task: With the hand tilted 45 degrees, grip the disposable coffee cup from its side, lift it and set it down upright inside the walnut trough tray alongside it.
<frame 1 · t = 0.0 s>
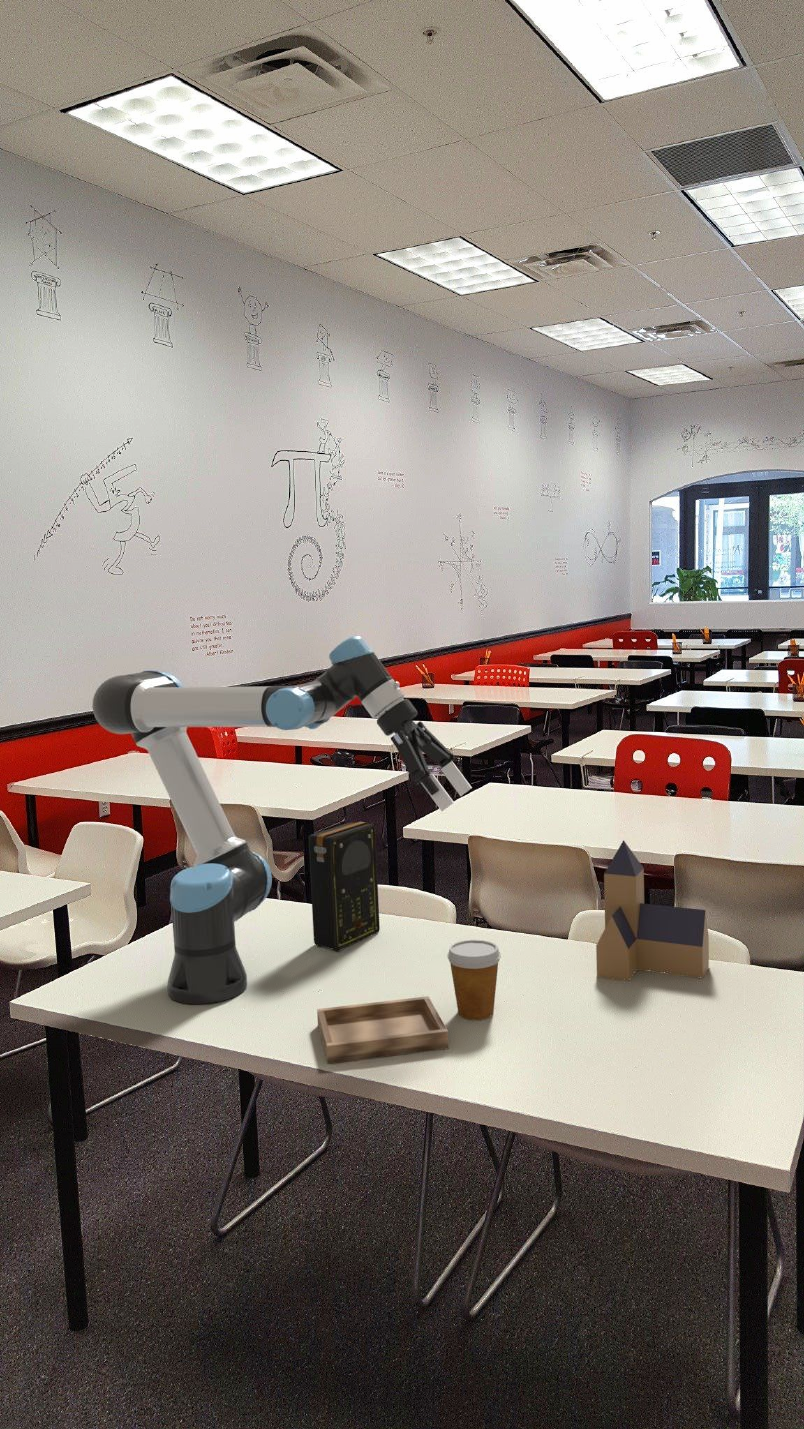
hand: (457, 799, 188), 36 cm above the table, tool tilted 35°, fingers open, 13 cm apart
voltmeter: (347, 940, 220), on the table
model church: (653, 972, 195), on the table
trough tray: (381, 1036, 171), on the table
disposable coffee cup: (475, 1013, 179), on the table
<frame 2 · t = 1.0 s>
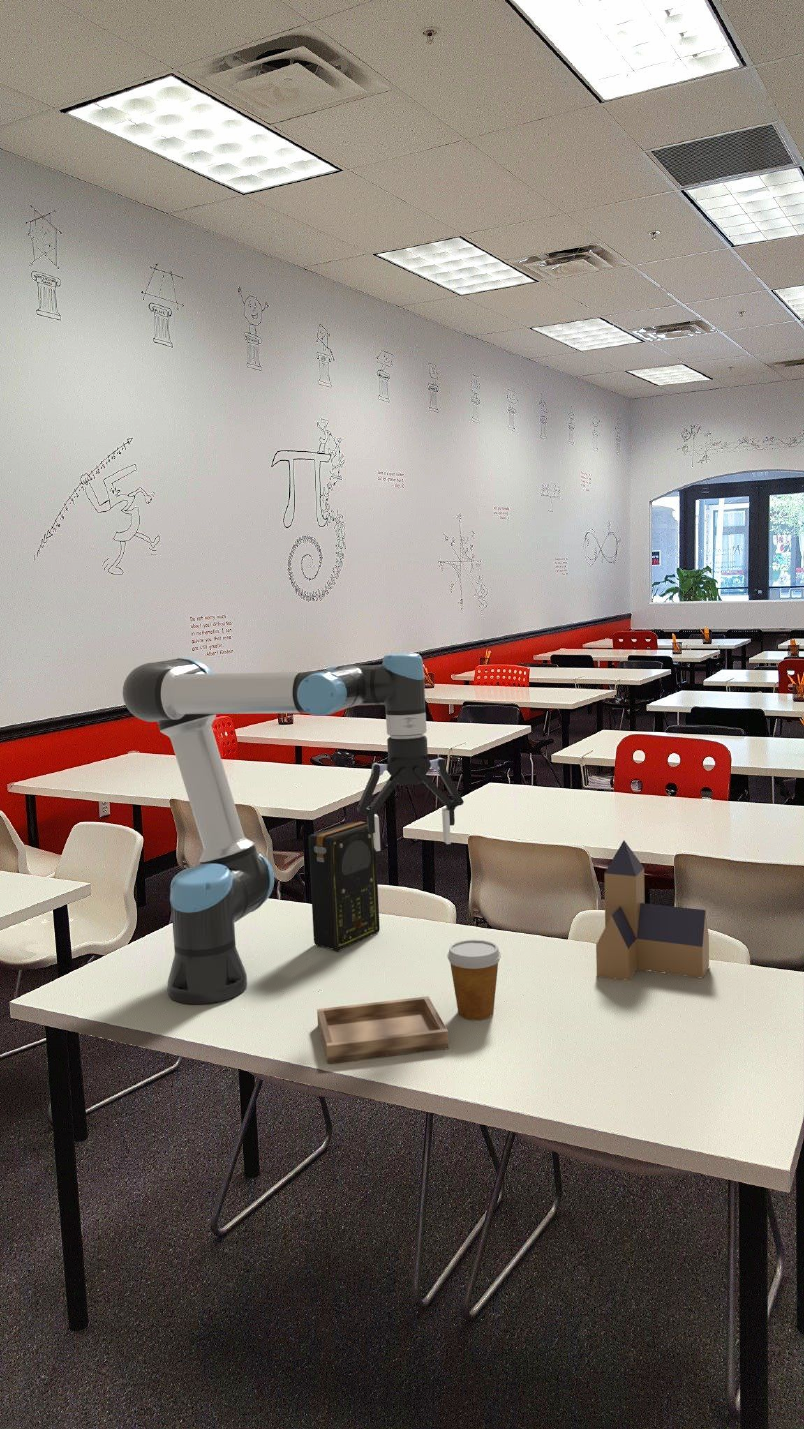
hand: (412, 846, 191), 27 cm above the table, tool pointing down, fingers open, 13 cm apart
nothing on the table moved.
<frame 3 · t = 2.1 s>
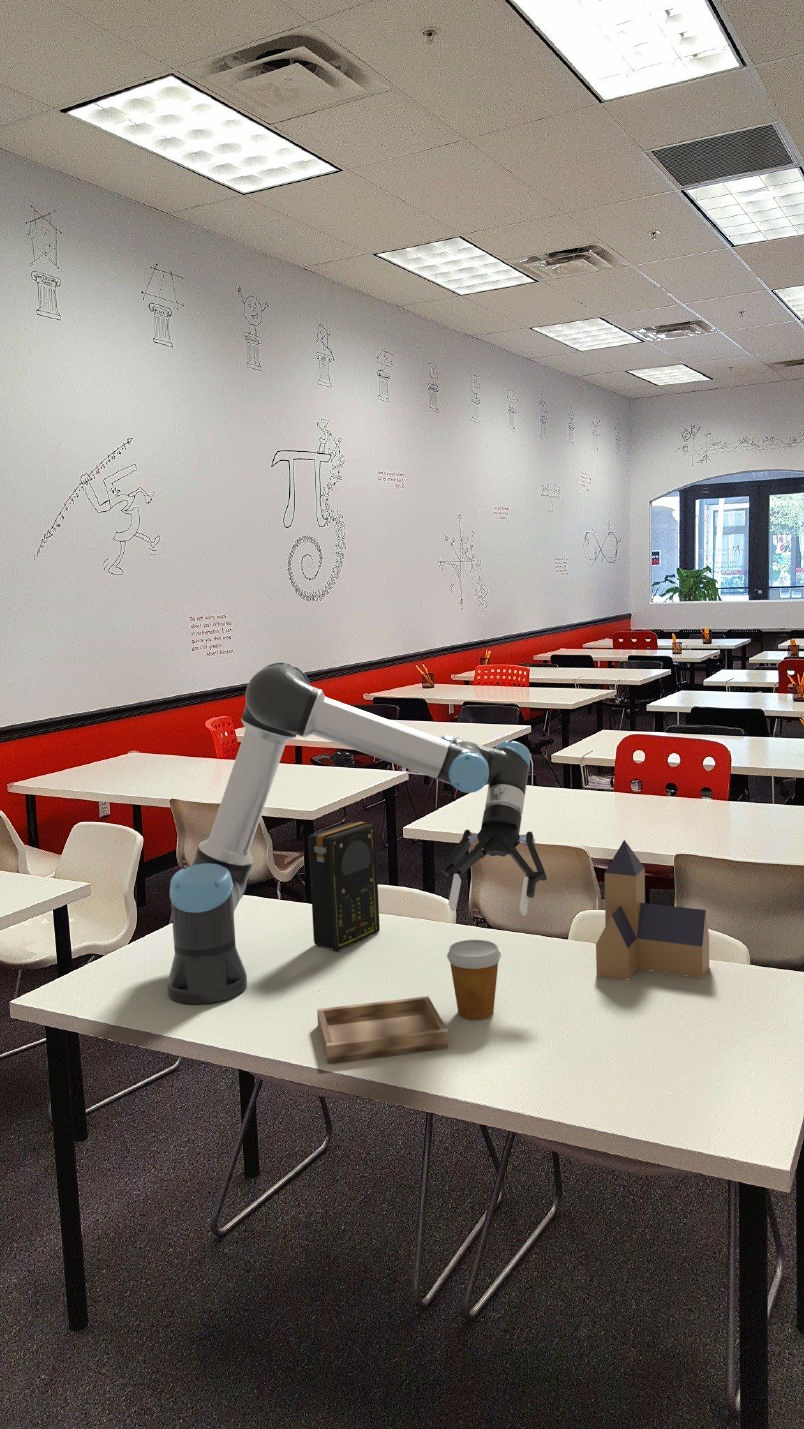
hand: (486, 910, 186), 16 cm above the table, tool tilted 45°, fingers open, 13 cm apart
nothing on the table moved.
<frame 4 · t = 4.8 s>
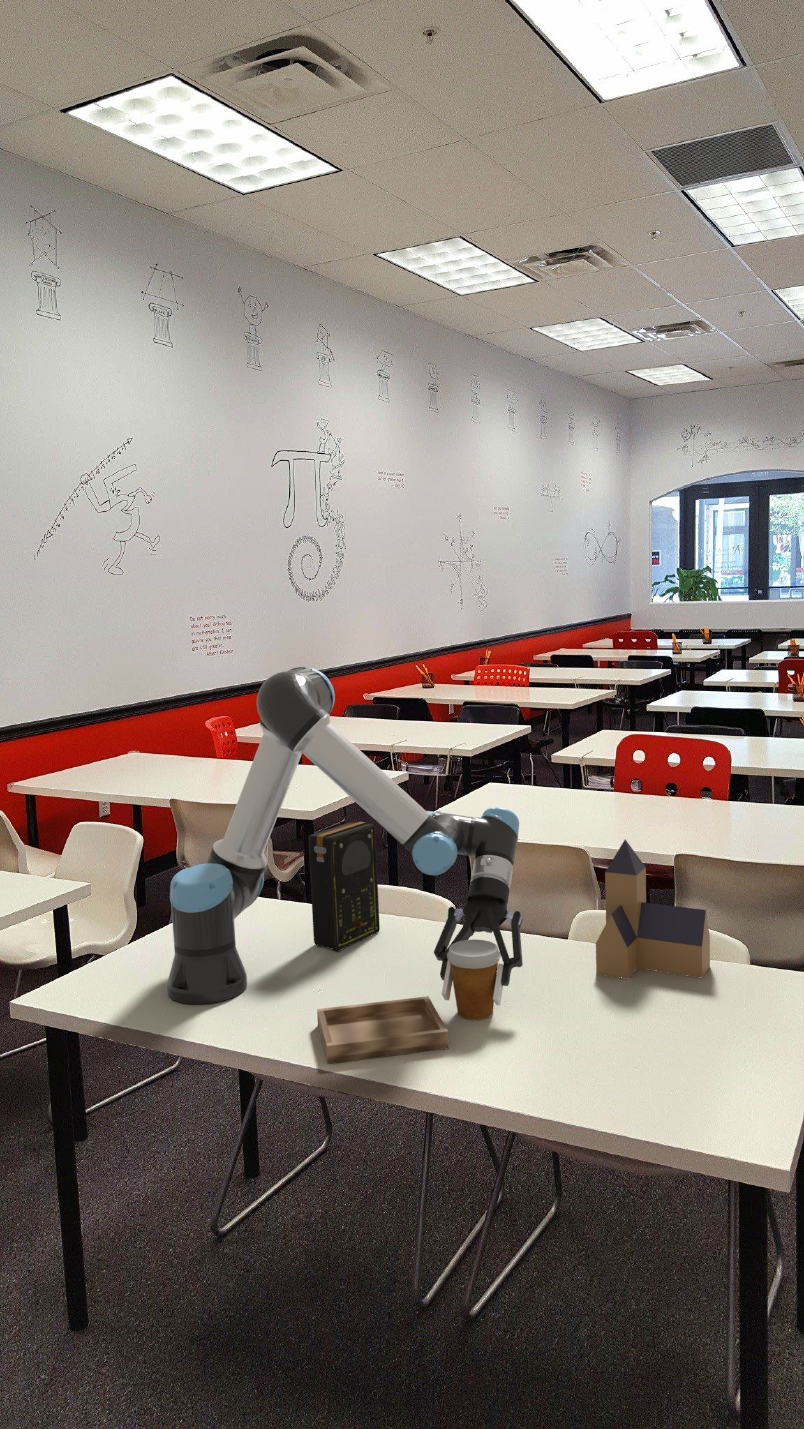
hand: (470, 999, 175), 4 cm above the table, tool tilted 45°, fingers closed on disposable coffee cup, 9 cm apart
disposable coffee cup: (475, 1013, 179), on the table, touching gripper
everything else where it was.
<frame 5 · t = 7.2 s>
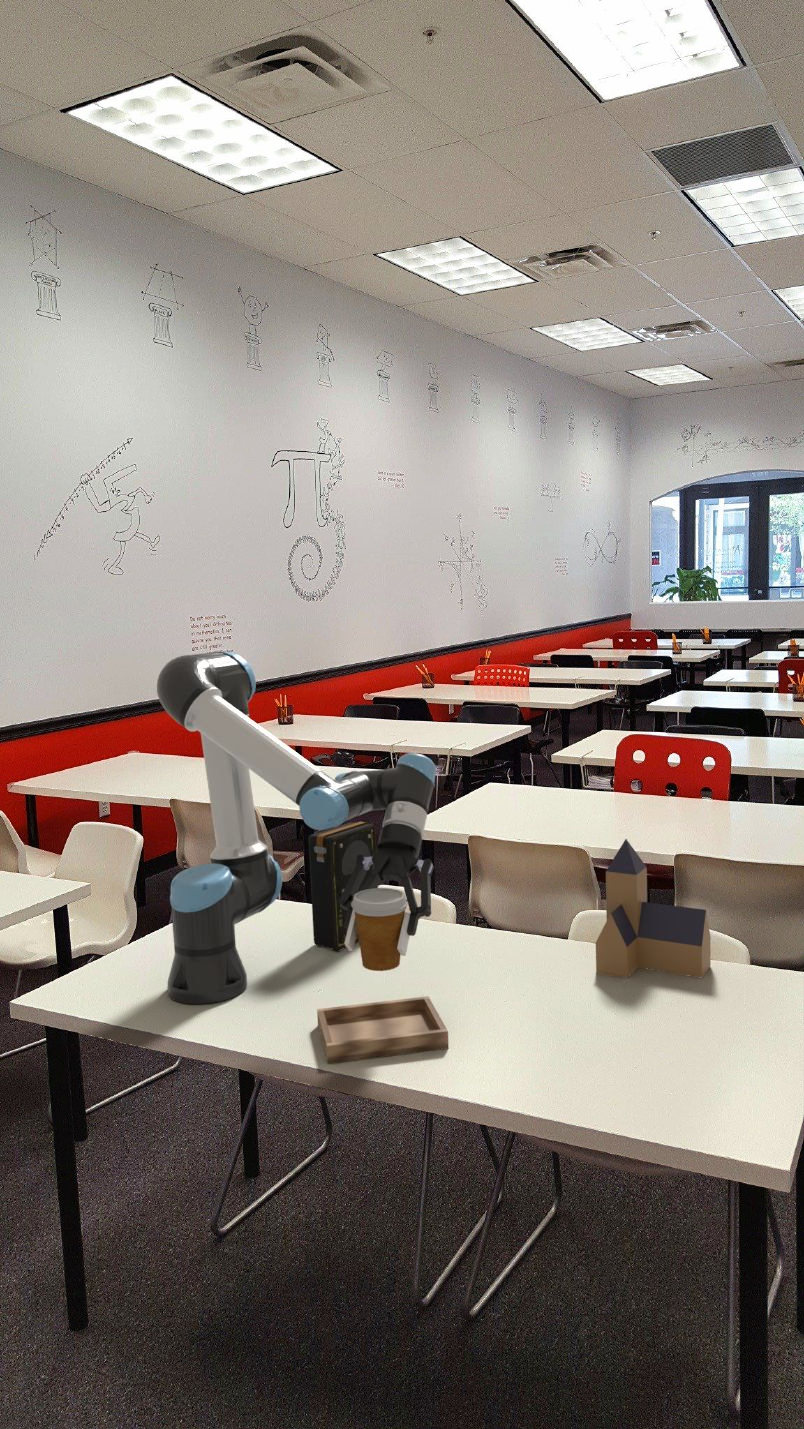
hand: (374, 949, 166), 16 cm above the table, tool tilted 45°, fingers closed on disposable coffee cup, 9 cm apart
disposable coffee cup: (381, 965, 170), point 12 cm above the table, touching gripper
everything else where it was.
when the fingers open (6 cm above the table, at t = 9.8 s): disposable coffee cup moves 3 cm, resting on trough tray.
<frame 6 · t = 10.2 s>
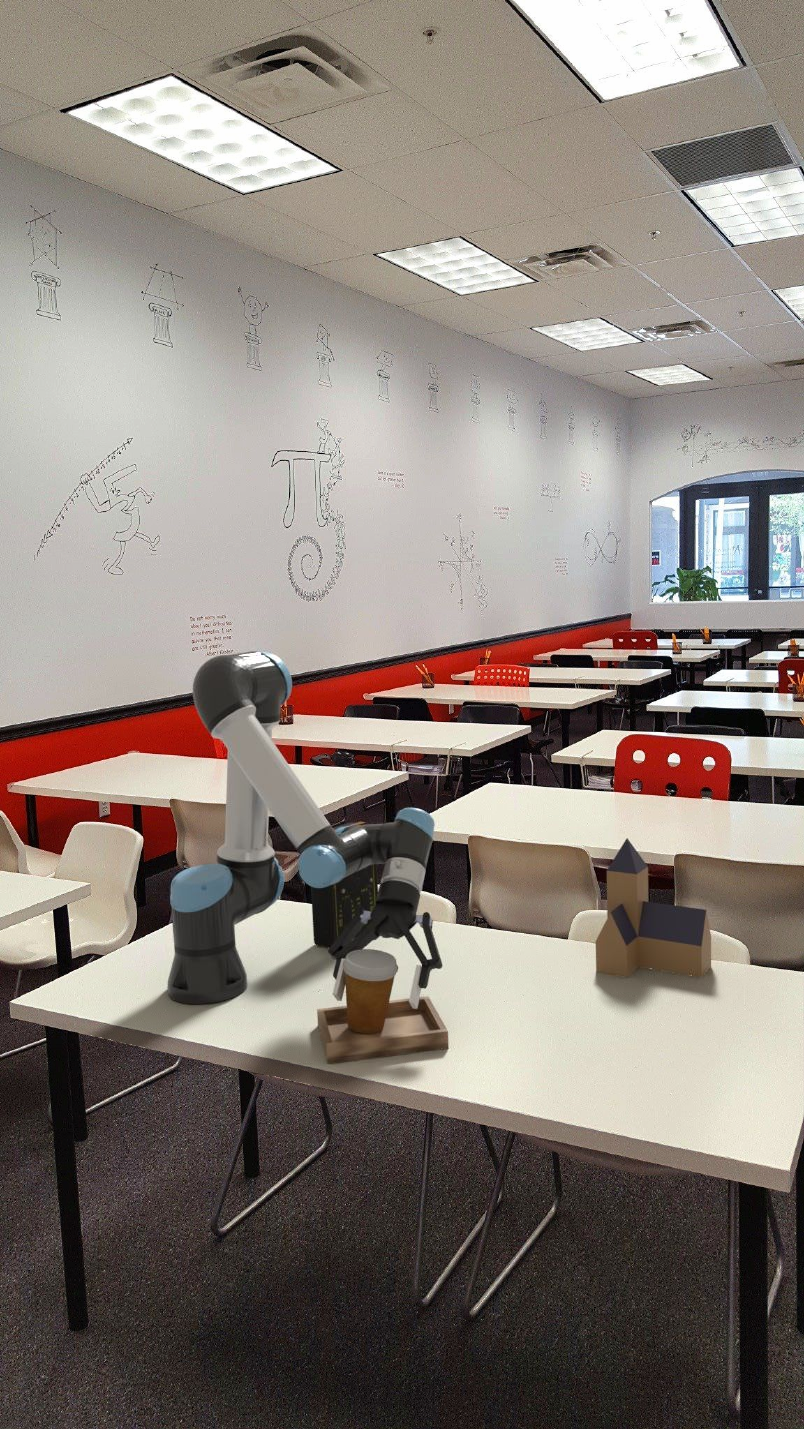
hand: (374, 1001, 168), 7 cm above the table, tool tilted 45°, fingers open, 13 cm apart
disposable coffee cup: (365, 1026, 172), point 1 cm above the table, touching gripper, trough tray
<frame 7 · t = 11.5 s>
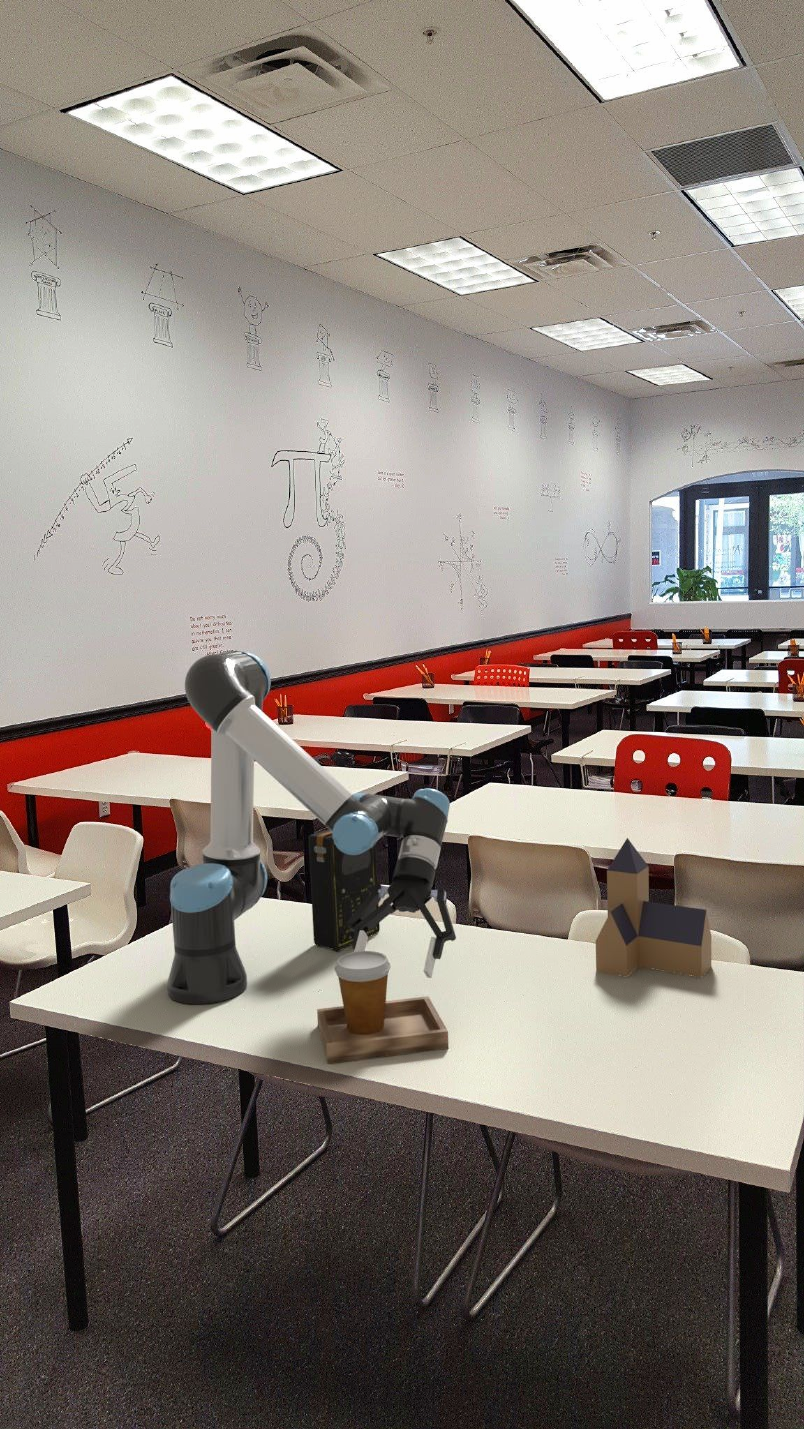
hand: (390, 971, 176), 9 cm above the table, tool tilted 45°, fingers open, 13 cm apart
disposable coffee cup: (365, 1028, 172), point 1 cm above the table, touching trough tray
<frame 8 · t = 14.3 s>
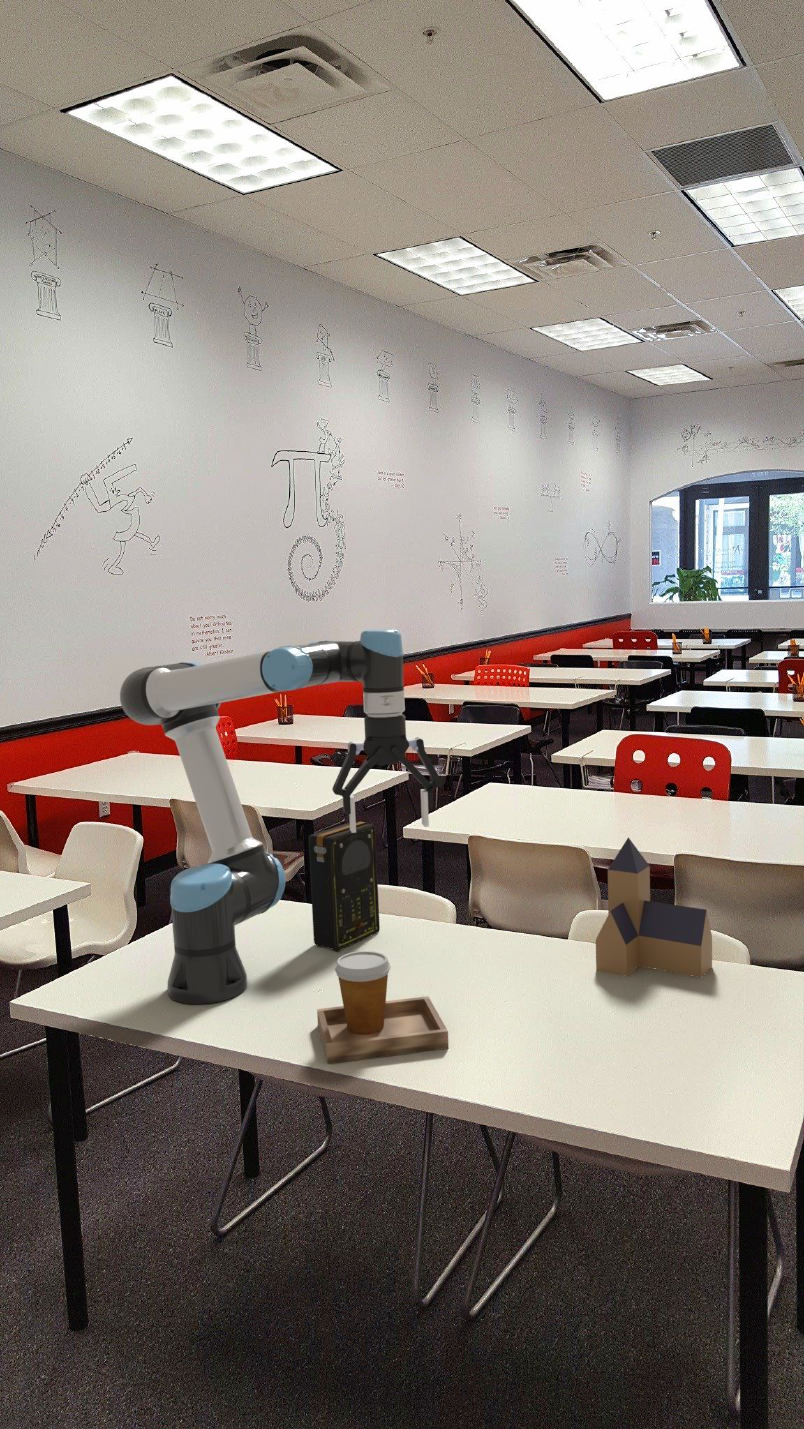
hand: (389, 828, 186), 32 cm above the table, tool pointing down, fingers open, 13 cm apart
at the end: disposable coffee cup inside the target area on the trough tray (3.3 cm from its centre), point 0.8 cm above the trough tray's base; disposable coffee cup tilted 0°; the gripper is holding nothing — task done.
